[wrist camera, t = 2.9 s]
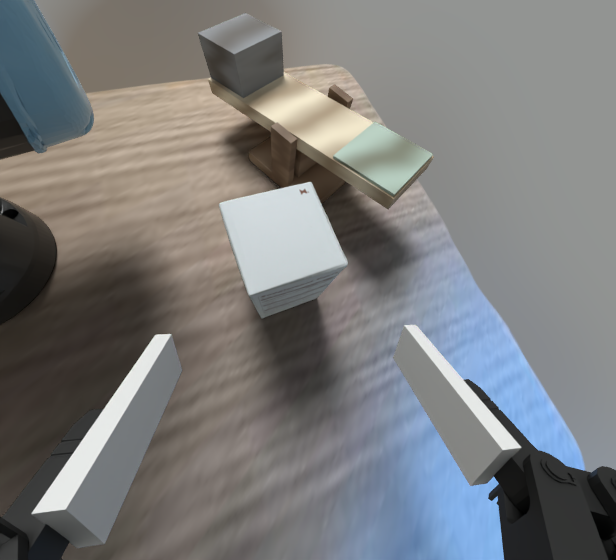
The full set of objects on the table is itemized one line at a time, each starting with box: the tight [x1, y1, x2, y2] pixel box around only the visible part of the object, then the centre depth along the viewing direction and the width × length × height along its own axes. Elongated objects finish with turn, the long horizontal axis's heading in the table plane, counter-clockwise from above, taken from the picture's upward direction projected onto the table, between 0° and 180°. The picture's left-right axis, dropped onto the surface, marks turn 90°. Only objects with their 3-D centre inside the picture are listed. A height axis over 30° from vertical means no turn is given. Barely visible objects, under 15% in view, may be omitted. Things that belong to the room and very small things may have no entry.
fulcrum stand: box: [248, 84, 353, 204], centre depth 29 cm, size 12×11×8 cm
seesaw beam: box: [198, 13, 434, 209], centre depth 25 cm, size 28×8×6 cm, turn 48°
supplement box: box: [219, 182, 348, 318], centre depth 21 cm, size 7×7×13 cm
